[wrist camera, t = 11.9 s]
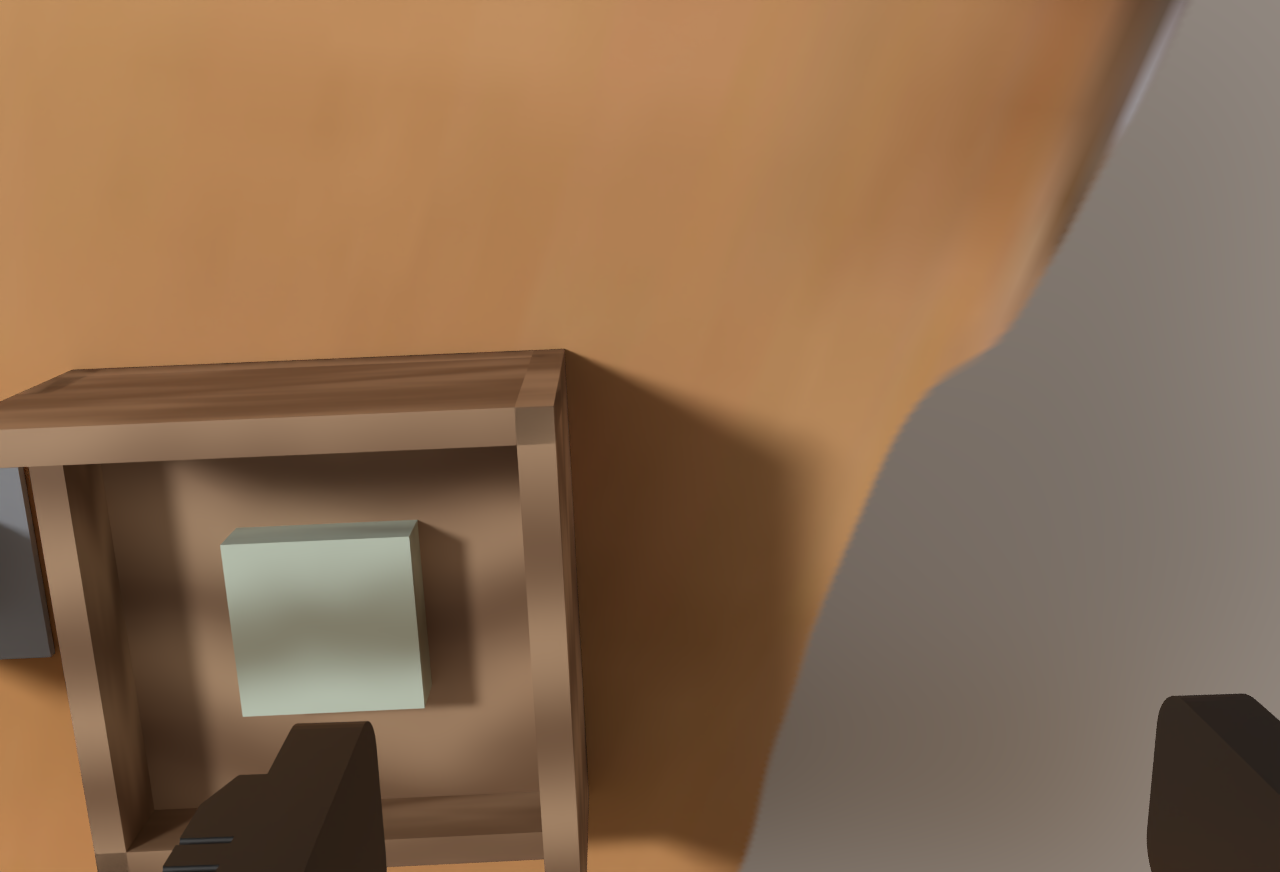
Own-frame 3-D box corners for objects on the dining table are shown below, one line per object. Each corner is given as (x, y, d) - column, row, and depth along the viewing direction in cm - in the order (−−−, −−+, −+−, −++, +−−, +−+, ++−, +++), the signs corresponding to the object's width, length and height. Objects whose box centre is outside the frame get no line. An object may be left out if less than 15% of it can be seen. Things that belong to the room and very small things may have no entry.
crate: (72, 369, 46) (-71, 433, 36) (564, 348, 46) (553, 406, 37) (143, 817, 51) (33, 978, 41) (589, 795, 51) (584, 950, 41)
